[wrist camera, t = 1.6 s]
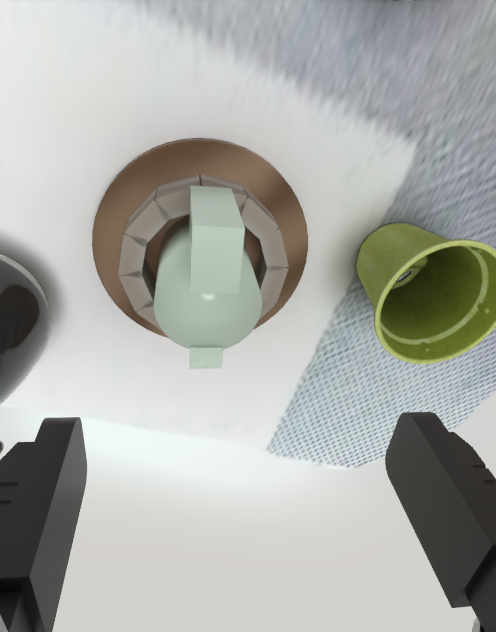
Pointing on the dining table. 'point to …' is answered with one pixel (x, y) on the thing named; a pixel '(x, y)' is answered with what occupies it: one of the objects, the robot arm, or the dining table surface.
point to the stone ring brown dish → (174, 203)
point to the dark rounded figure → (20, 326)
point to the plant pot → (428, 292)
